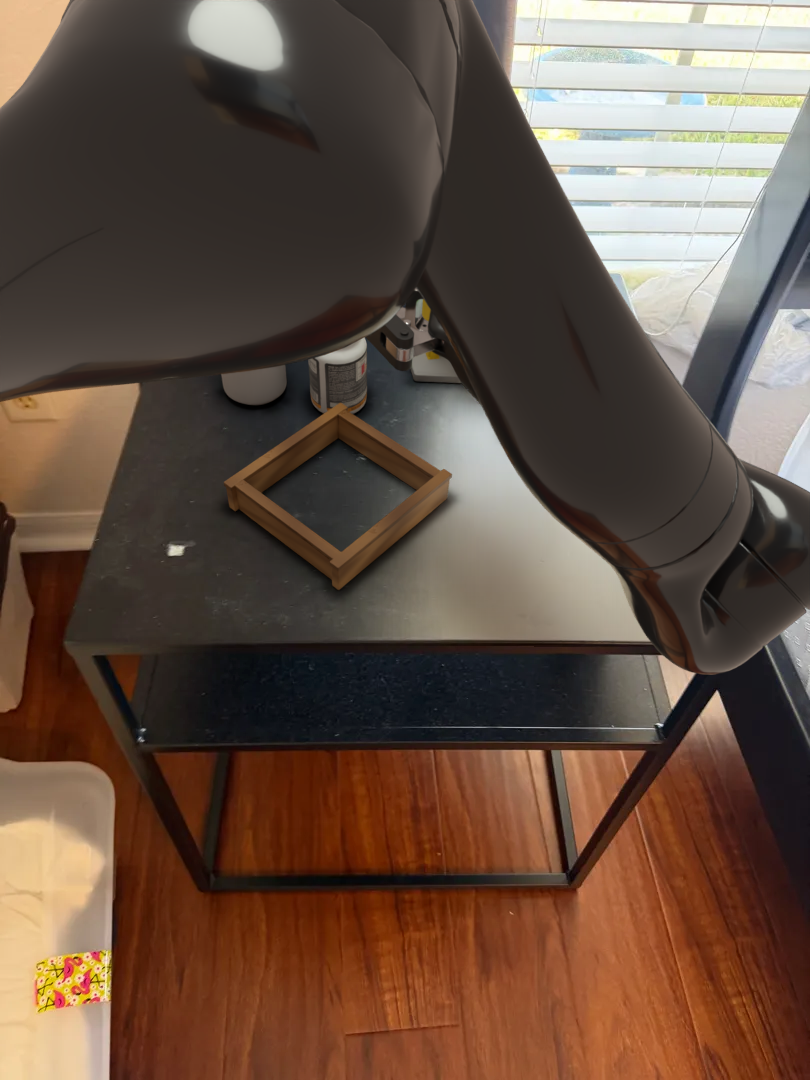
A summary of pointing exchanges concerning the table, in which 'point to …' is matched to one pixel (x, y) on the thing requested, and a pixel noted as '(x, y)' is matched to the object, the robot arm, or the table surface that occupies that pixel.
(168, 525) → the table surface
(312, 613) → the table surface
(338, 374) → the pill bottle
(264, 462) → the square wooden frame
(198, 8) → the robot arm
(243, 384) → the beverage can
